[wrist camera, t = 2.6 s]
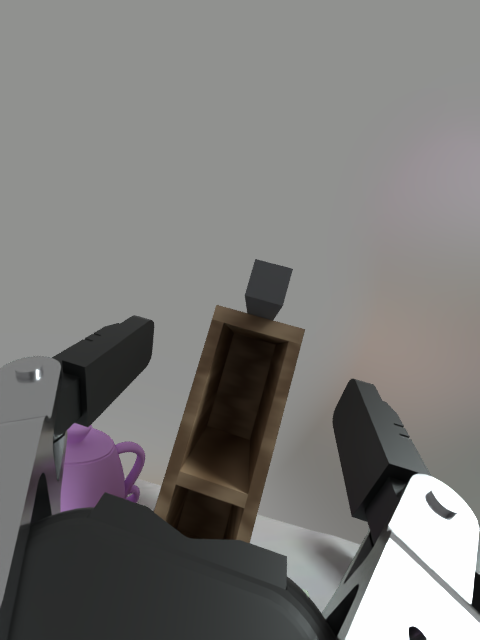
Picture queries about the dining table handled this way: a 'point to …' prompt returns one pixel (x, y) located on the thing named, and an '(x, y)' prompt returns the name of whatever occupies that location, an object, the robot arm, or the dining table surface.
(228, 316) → the shelf tower
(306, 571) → the dining table surface
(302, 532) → the dining table surface
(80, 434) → the teapot
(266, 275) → the domino bar
